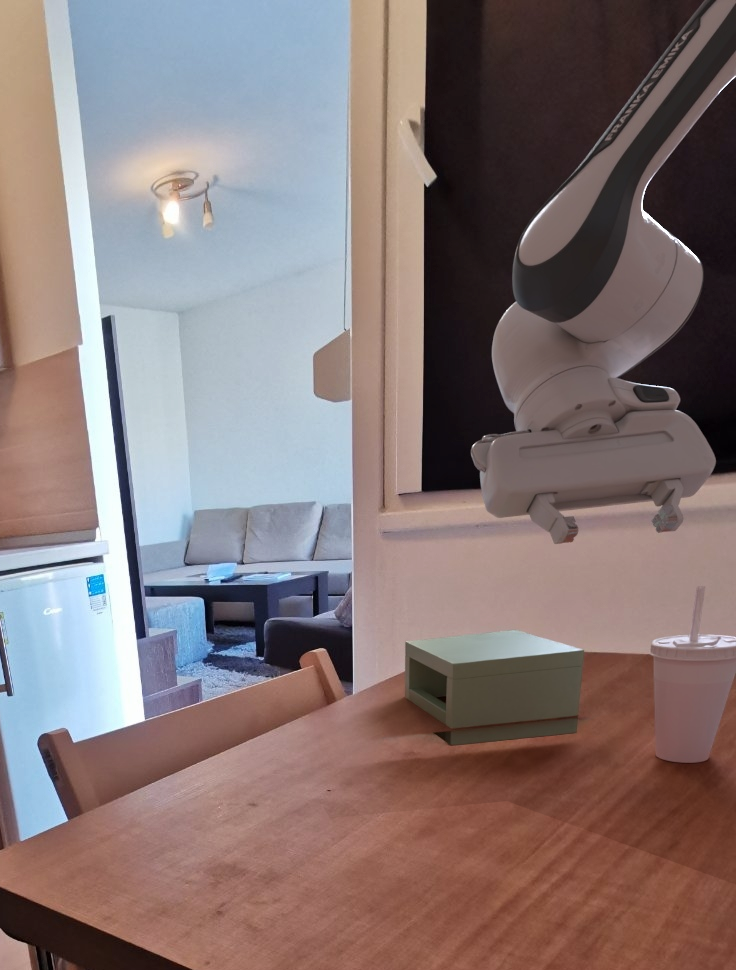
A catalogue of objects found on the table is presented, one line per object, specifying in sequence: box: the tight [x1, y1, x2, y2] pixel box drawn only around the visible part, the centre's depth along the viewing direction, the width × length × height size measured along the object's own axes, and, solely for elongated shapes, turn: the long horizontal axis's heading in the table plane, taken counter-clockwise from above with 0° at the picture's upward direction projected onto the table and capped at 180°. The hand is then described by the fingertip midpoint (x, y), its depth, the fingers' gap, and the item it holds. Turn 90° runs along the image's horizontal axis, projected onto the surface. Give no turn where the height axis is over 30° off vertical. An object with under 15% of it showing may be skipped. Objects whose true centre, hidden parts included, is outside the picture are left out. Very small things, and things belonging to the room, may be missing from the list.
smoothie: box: [648, 585, 736, 764], centre depth 62 cm, size 6×6×14 cm
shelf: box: [404, 629, 585, 746], centre depth 78 cm, size 12×14×8 cm
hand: (619, 533), depth 70 cm, fingers open, 8 cm apart
